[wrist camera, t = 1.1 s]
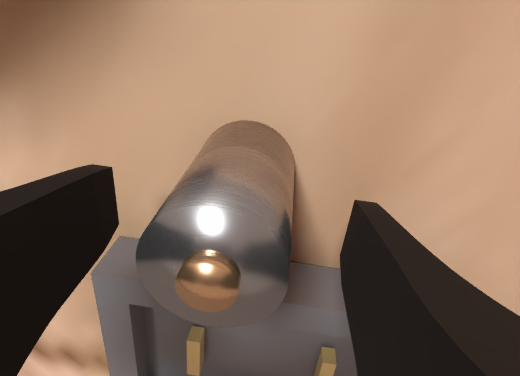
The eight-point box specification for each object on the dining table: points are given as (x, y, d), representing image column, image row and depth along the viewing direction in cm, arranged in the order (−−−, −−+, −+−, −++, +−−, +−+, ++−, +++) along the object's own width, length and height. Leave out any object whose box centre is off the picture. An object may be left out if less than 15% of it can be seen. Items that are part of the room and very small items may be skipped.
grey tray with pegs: (435, 283, 15) (463, 343, 12) (378, 407, 19) (390, 470, 17) (119, 236, 16) (82, 284, 13) (135, 366, 20) (110, 421, 17)
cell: (301, 127, 12) (299, 235, 7) (287, 212, 14) (277, 355, 8) (202, 114, 12) (117, 208, 7) (200, 199, 14) (132, 331, 9)
